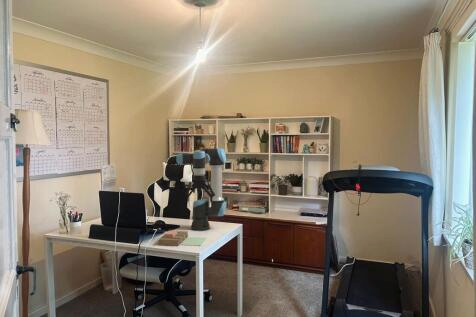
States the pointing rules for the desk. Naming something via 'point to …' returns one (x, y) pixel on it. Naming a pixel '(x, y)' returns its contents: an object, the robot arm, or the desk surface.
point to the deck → (174, 239)
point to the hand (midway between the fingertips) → (199, 206)
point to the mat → (194, 241)
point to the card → (170, 233)
